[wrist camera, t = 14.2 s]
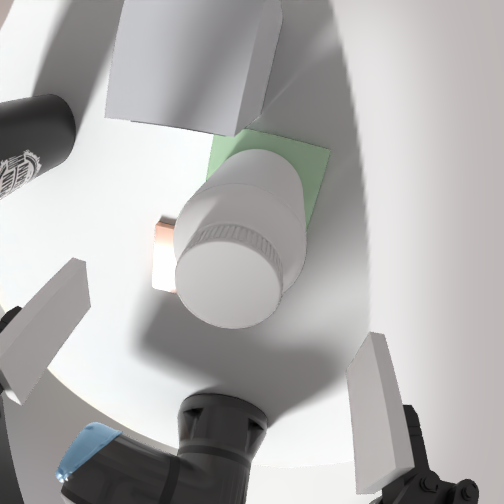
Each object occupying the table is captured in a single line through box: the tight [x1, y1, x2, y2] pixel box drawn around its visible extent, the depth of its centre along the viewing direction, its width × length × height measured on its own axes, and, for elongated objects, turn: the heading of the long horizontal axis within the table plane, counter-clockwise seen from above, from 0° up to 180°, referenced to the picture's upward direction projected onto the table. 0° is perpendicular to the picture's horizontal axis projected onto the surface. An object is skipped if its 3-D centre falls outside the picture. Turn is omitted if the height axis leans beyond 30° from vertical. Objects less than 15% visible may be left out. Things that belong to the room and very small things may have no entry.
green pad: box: [206, 128, 331, 231], centre depth 28 cm, size 10×10×1 cm
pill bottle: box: [173, 149, 307, 329], centre depth 21 cm, size 8×8×15 cm
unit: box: [105, 0, 283, 137], centre depth 17 cm, size 10×7×13 cm
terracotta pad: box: [153, 222, 178, 294], centre depth 33 cm, size 8×8×1 cm
